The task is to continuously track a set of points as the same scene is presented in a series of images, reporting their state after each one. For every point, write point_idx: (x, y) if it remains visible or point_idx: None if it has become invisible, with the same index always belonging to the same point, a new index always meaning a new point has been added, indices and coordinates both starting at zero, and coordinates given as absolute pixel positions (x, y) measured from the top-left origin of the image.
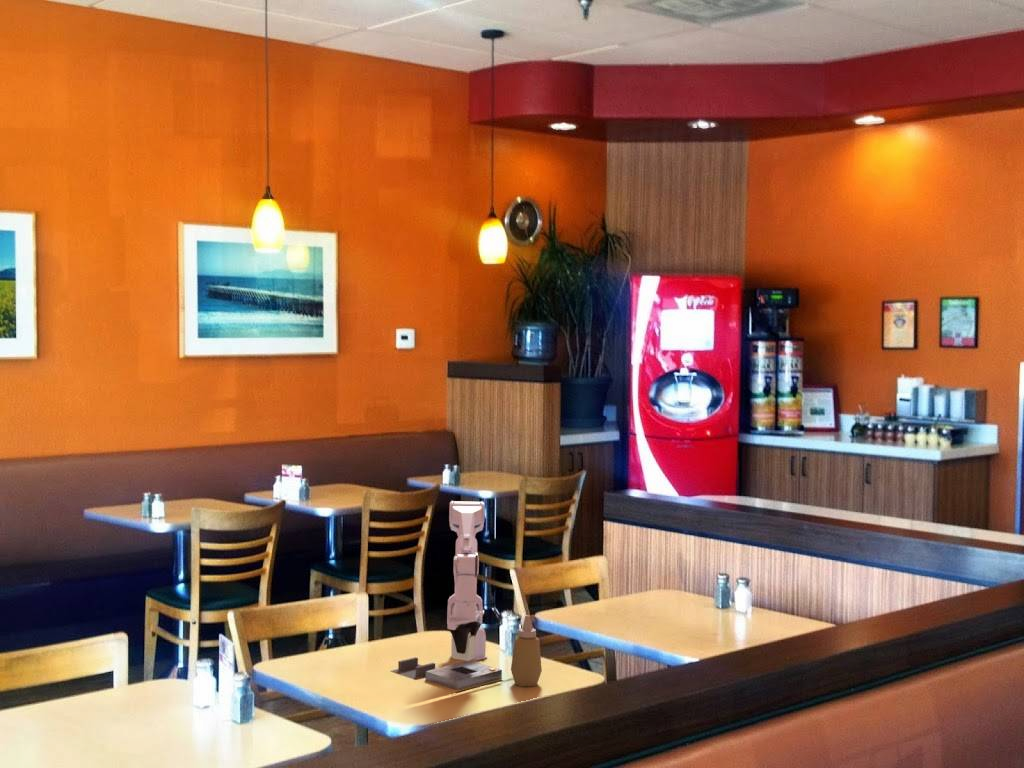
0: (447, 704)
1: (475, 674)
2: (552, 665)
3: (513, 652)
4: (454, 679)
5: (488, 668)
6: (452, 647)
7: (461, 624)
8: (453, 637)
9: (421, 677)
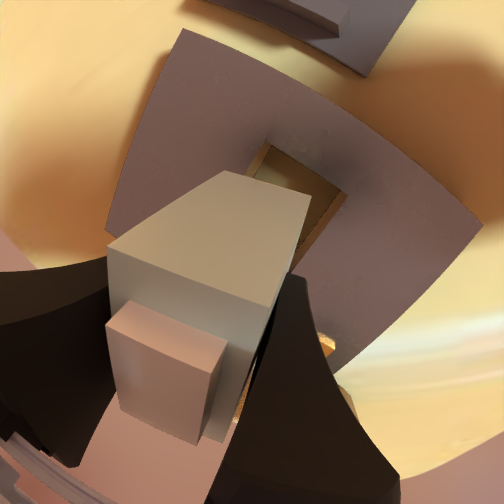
0: (50, 213)
1: None
2: (498, 422)
3: None
4: (119, 212)
5: (341, 331)
6: (184, 197)
7: (2, 441)
8: (57, 272)
9: (229, 5)
